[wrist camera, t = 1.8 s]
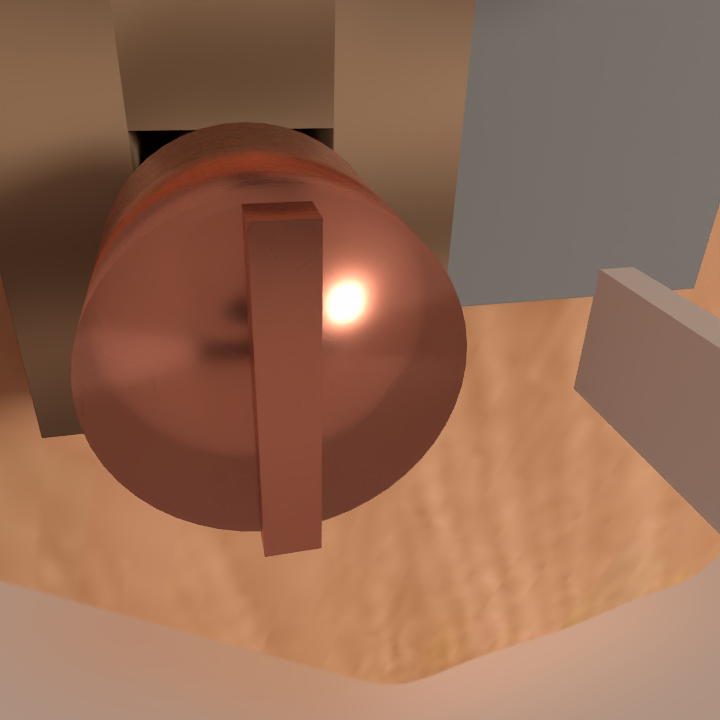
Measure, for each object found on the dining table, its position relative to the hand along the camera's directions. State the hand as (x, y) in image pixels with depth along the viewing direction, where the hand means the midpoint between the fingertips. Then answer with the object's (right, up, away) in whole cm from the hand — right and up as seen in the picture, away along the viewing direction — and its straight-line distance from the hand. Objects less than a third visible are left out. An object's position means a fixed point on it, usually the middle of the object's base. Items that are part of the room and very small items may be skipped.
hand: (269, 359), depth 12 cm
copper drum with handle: (-3, +6, +10) cm, 12 cm away
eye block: (-3, +6, +10) cm, 12 cm away
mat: (+10, +8, +12) cm, 18 cm away
